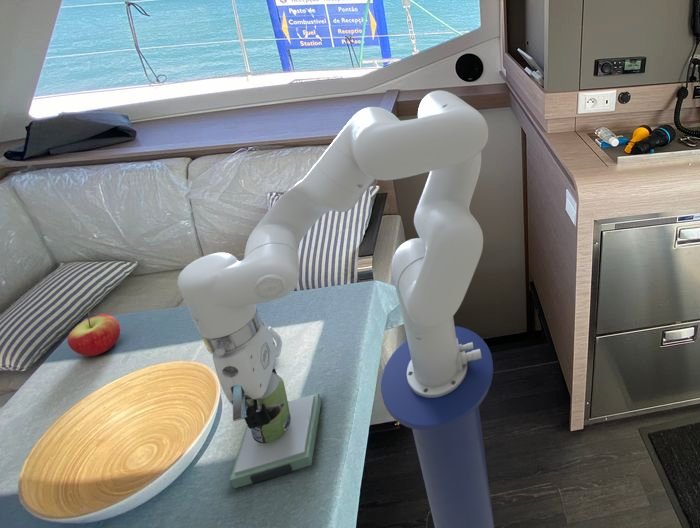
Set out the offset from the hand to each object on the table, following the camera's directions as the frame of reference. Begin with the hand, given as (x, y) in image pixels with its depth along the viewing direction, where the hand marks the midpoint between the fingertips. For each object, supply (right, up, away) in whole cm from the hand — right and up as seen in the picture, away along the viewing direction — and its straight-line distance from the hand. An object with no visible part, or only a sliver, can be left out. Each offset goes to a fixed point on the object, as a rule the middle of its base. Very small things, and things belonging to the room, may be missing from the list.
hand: (265, 404), depth 71 cm
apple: (-53, -3, +26) cm, 59 cm away
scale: (+1, -9, +4) cm, 10 cm away
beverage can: (0, -6, +3) cm, 7 cm away
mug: (-11, -4, +19) cm, 22 cm away
